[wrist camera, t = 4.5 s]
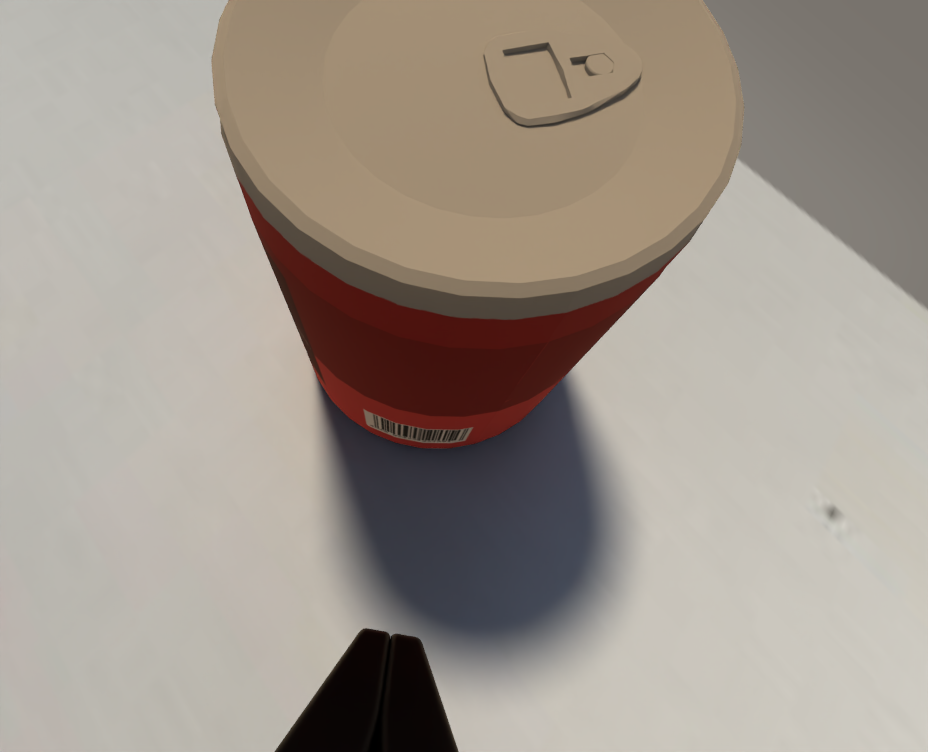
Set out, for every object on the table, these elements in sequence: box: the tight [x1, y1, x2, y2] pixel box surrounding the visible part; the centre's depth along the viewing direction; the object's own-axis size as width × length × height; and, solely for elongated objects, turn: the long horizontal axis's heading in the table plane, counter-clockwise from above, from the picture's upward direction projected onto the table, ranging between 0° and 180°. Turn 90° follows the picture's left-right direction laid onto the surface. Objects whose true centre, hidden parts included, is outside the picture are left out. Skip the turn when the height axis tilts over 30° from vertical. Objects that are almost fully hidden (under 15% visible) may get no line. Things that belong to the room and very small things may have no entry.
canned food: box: [212, 0, 744, 448], centre depth 14 cm, size 8×8×11 cm
